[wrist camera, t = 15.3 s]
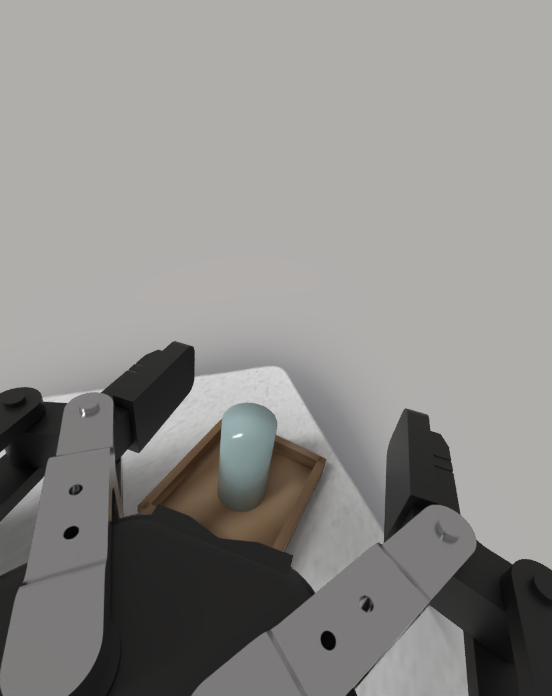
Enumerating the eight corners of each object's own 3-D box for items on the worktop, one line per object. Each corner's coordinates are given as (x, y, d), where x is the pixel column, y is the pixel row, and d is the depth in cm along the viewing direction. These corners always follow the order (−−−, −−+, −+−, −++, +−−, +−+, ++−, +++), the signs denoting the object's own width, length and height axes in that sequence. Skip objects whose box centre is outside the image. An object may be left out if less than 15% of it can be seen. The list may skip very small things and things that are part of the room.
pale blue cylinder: (215, 511, 41) (219, 441, 35) (219, 469, 46) (224, 401, 40) (265, 512, 42) (278, 444, 36) (264, 471, 47) (275, 404, 41)
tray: (139, 521, 40) (137, 506, 39) (226, 426, 54) (227, 412, 53) (260, 600, 35) (263, 587, 34) (322, 473, 49) (326, 459, 48)
